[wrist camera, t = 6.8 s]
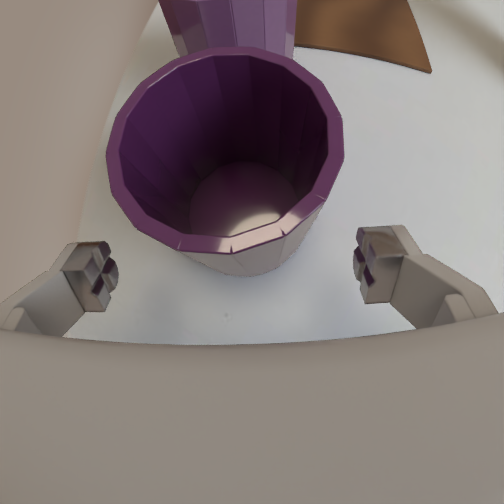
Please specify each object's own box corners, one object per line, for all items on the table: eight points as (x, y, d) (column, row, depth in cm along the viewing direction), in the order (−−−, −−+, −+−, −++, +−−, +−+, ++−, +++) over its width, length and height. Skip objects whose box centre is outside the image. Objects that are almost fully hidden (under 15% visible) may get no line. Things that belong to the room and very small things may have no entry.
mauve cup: (172, 77, 20) (130, -20, 10) (246, 32, 21) (235, -65, 11) (233, 132, 19) (207, 18, 9) (311, 78, 20) (328, -31, 10)
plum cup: (161, 211, 19) (74, 138, 9) (251, 137, 19) (236, 21, 9) (237, 302, 18) (199, 311, 8) (331, 220, 18) (391, 143, 8)
